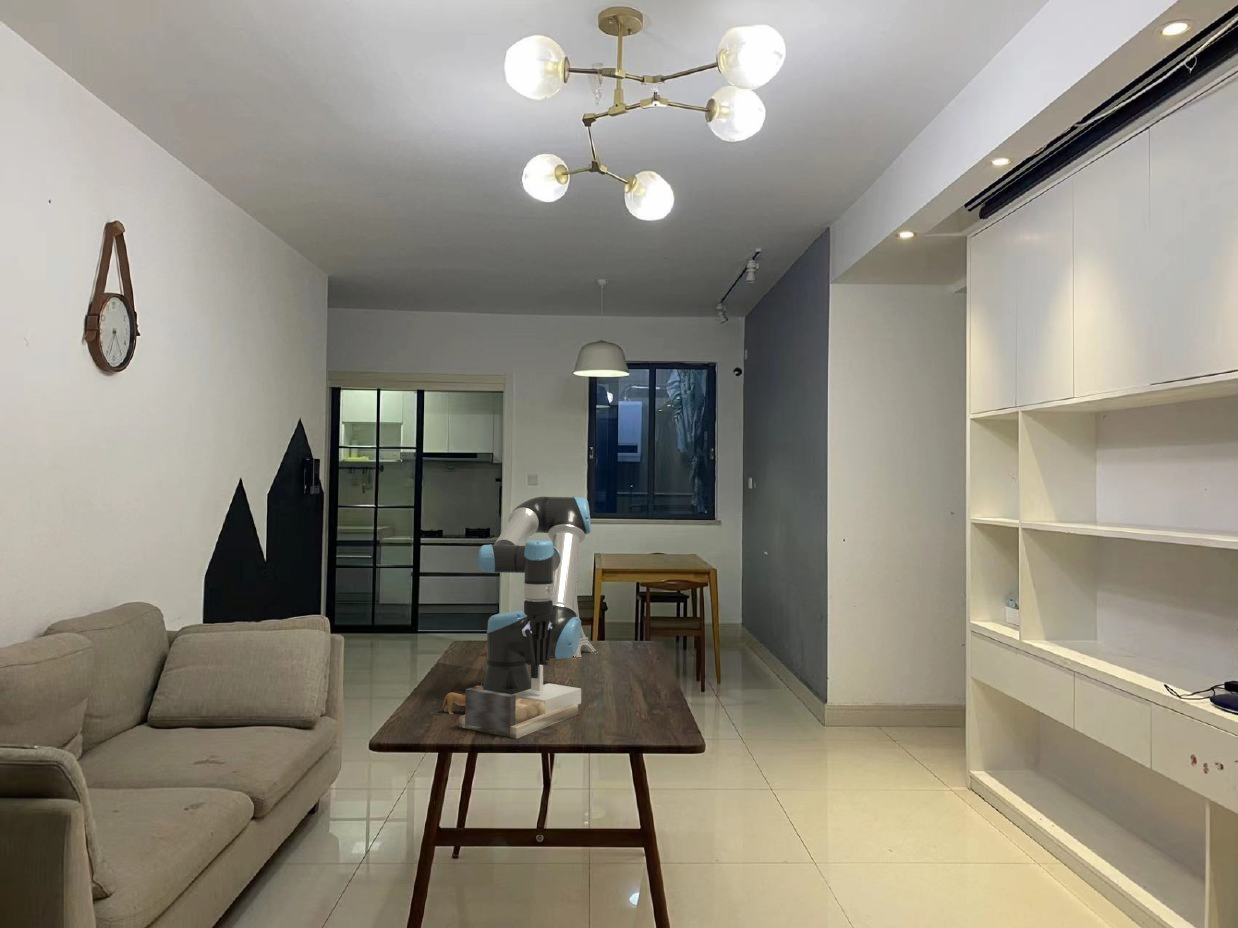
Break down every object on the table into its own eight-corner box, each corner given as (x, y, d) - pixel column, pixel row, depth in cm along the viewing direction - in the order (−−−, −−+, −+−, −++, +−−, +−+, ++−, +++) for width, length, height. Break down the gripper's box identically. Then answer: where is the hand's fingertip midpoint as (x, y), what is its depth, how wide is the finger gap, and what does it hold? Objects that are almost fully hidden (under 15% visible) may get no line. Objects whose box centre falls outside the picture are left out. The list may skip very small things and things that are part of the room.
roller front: (491, 705, 215) (487, 721, 213) (482, 701, 212) (477, 717, 210) (529, 711, 208) (524, 728, 207) (520, 707, 205) (515, 724, 204)
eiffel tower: (578, 660, 294) (579, 573, 295) (547, 656, 301) (548, 571, 302) (598, 654, 306) (599, 571, 307) (568, 650, 313) (569, 569, 314)
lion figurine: (484, 712, 223) (484, 684, 223) (482, 716, 219) (482, 687, 219) (439, 711, 223) (439, 683, 223) (436, 716, 218) (436, 687, 219)
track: (458, 727, 208) (459, 688, 209) (523, 705, 230) (523, 670, 231) (516, 738, 199) (517, 698, 199) (578, 714, 221) (578, 678, 221)
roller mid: (501, 698, 218) (500, 714, 217) (491, 700, 215) (490, 716, 214) (538, 705, 211) (537, 721, 211) (528, 707, 208) (527, 723, 208)
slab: (511, 709, 221) (511, 694, 222) (548, 697, 235) (548, 683, 235) (545, 716, 215) (545, 700, 216) (581, 703, 229) (581, 688, 229)
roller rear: (499, 697, 218) (509, 694, 222) (498, 712, 218) (508, 710, 222) (535, 703, 212) (545, 700, 215) (535, 719, 212) (545, 716, 215)
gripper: (534, 603, 214) (533, 697, 213) (564, 598, 225) (563, 687, 224) (511, 601, 218) (510, 693, 217) (541, 596, 229) (540, 683, 228)
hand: (537, 690), depth 221 cm, fingers closed
